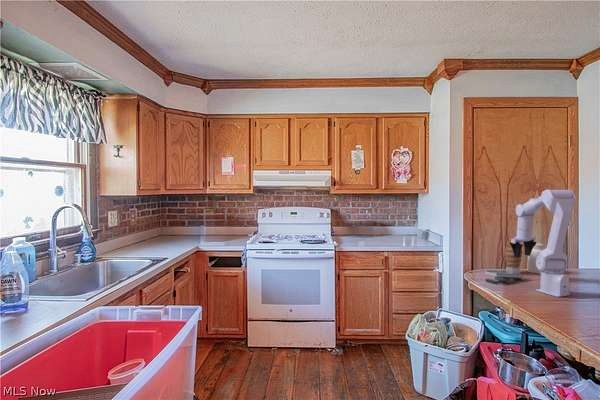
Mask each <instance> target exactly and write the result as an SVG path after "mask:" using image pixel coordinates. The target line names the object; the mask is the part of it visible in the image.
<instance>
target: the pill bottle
mask: <svg viewBox="0 0 600 400" xmlns="http://www.w3.org/2000/svg"><path fill="white" fill-rule="evenodd" d="M542 250H544V244H543V243H537V242H536V245H535V246H534V247H533V249H532V252H531V254H530V256H527V263H526V265H527V268H526V270H527V272H529V273H533V274H540V275H541V271H540V270H539V269H538V268H537V266H536V259H537V257H538V256H539V252H541V251H542Z"/></svg>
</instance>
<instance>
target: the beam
mask: <svg viewBox="0 0 600 400" xmlns="http://www.w3.org/2000/svg"><path fill="white" fill-rule="evenodd" d="M505 272H506V270H500V269H499V270H494V269H491V270H490V269H485V271H484V274H485V275H490V276H492V277H495V276H496V277H520V278H522V279H523V278H524V273H519V274H517V273H505Z"/></svg>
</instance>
